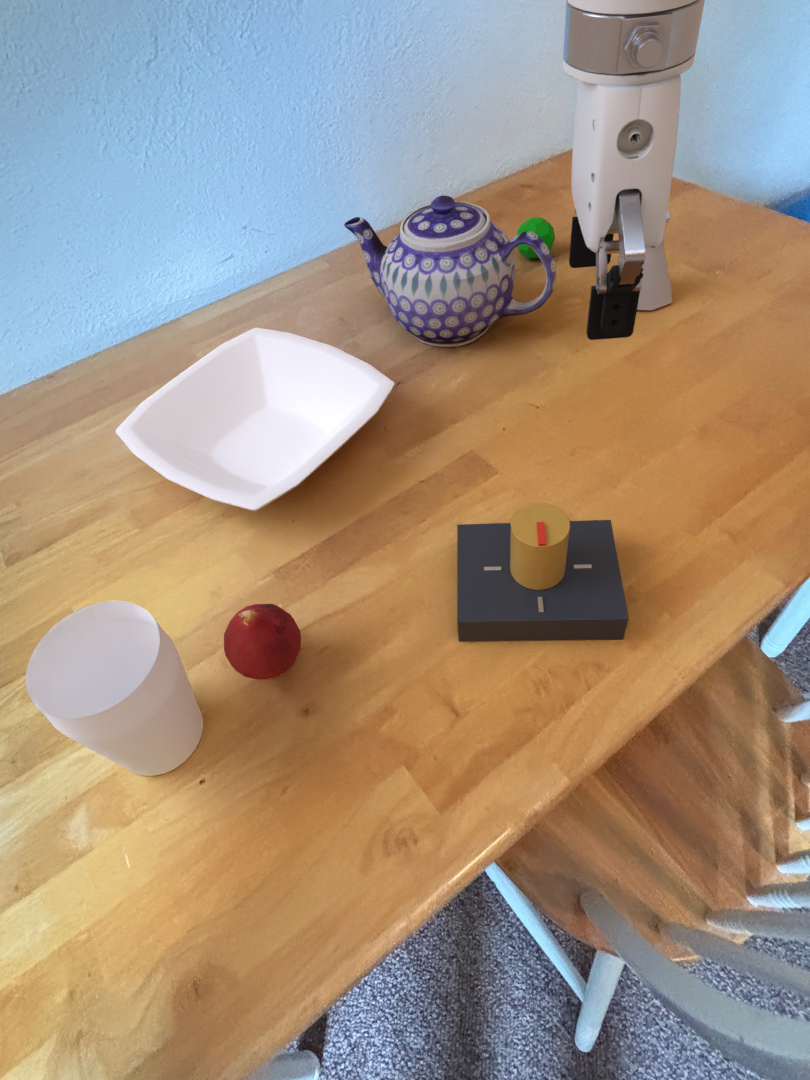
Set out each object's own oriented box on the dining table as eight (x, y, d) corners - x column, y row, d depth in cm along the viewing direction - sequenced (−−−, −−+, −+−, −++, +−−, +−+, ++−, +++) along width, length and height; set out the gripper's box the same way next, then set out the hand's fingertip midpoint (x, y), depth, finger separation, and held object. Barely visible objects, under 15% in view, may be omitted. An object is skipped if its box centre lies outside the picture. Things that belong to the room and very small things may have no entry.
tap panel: (606, 541, 62) (611, 518, 60) (623, 639, 56) (629, 617, 53) (458, 545, 64) (457, 523, 61) (458, 641, 57) (457, 620, 55)
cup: (159, 665, 59) (96, 580, 50) (242, 711, 55) (191, 629, 46) (78, 758, 54) (-7, 683, 45) (164, 815, 51) (90, 746, 42)
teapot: (571, 306, 85) (582, 179, 74) (524, 381, 77) (529, 251, 66) (389, 273, 95) (374, 155, 83) (330, 337, 86) (304, 216, 75)
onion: (272, 624, 60) (246, 567, 54) (324, 655, 58) (303, 599, 52) (225, 675, 58) (192, 622, 51) (277, 710, 55) (248, 658, 49)
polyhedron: (546, 268, 91) (548, 232, 88) (510, 262, 93) (510, 227, 89) (558, 248, 94) (560, 213, 90) (523, 244, 96) (524, 209, 92)
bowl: (117, 475, 74) (93, 435, 70) (270, 357, 85) (257, 316, 81) (267, 567, 64) (250, 526, 60) (419, 420, 75) (414, 376, 71)
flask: (603, 284, 88) (612, 204, 80) (661, 275, 88) (676, 194, 80) (620, 317, 83) (633, 235, 75) (682, 307, 83) (700, 224, 75)
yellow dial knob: (509, 547, 59) (509, 500, 55) (562, 546, 59) (567, 498, 54) (511, 590, 56) (512, 544, 52) (567, 589, 56) (573, 543, 51)
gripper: (739, 80, 35) (674, 364, 48) (664, -15, 46) (628, 237, 59) (585, 96, 36) (562, 372, 49) (548, -1, 47) (537, 245, 60)
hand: (598, 298), depth 54 cm, fingers open, 9 cm apart
